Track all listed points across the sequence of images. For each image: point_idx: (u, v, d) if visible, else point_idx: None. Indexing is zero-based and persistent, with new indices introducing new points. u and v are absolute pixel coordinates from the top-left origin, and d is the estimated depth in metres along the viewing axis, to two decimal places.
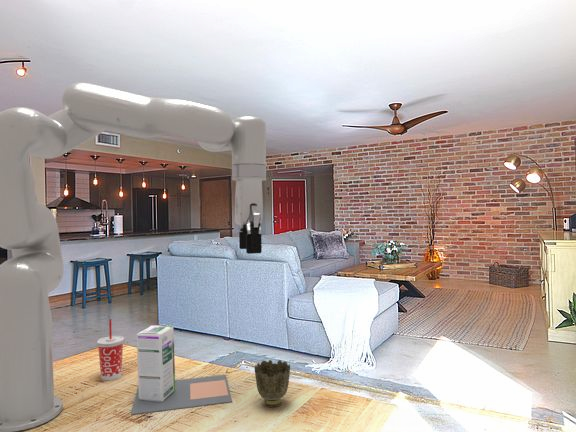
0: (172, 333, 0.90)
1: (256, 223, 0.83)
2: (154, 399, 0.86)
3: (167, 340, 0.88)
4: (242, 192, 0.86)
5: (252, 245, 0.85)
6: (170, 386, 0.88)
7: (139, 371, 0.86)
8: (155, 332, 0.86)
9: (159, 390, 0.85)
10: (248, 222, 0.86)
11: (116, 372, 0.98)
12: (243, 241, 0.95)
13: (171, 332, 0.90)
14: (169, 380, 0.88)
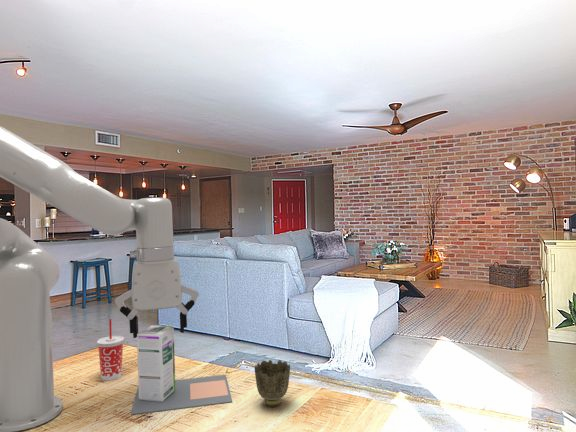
0: (172, 333, 0.90)
1: (195, 300, 0.90)
2: (154, 399, 0.86)
3: (167, 340, 0.88)
4: (178, 274, 0.87)
5: (186, 323, 0.89)
6: (170, 386, 0.88)
7: (139, 371, 0.86)
8: (156, 332, 0.86)
9: (160, 390, 0.85)
10: None
11: (116, 372, 0.98)
12: (136, 328, 0.87)
13: (172, 332, 0.90)
14: (170, 380, 0.88)
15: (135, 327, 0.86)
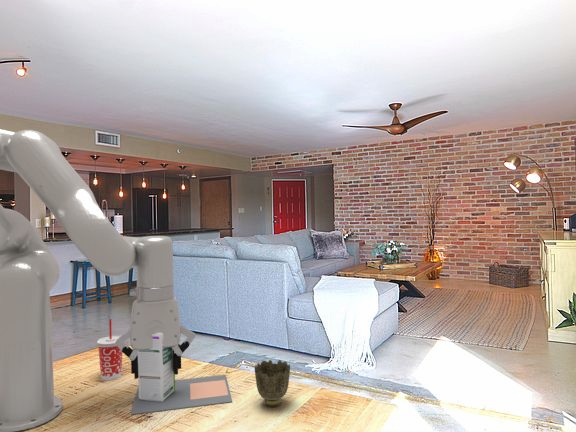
0: None
1: (190, 342, 0.90)
2: (154, 399, 0.86)
3: None
4: (177, 314, 0.87)
5: None
6: (170, 386, 0.88)
7: (139, 371, 0.86)
8: None
9: (160, 390, 0.85)
10: None
11: (116, 372, 0.98)
12: None
13: None
14: (170, 380, 0.88)
15: (136, 368, 0.86)
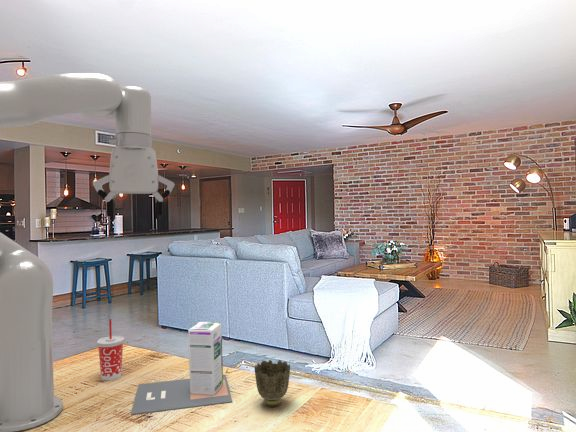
0: (220, 329, 0.92)
1: None
2: (206, 393, 0.88)
3: (217, 336, 0.90)
4: (154, 161, 0.91)
5: None
6: (219, 380, 0.91)
7: (191, 366, 0.89)
8: (207, 328, 0.88)
9: (211, 384, 0.88)
10: (156, 190, 0.92)
11: (116, 372, 0.98)
12: (113, 212, 0.90)
13: (220, 328, 0.92)
14: (219, 375, 0.91)
15: (112, 209, 0.90)
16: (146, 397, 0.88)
